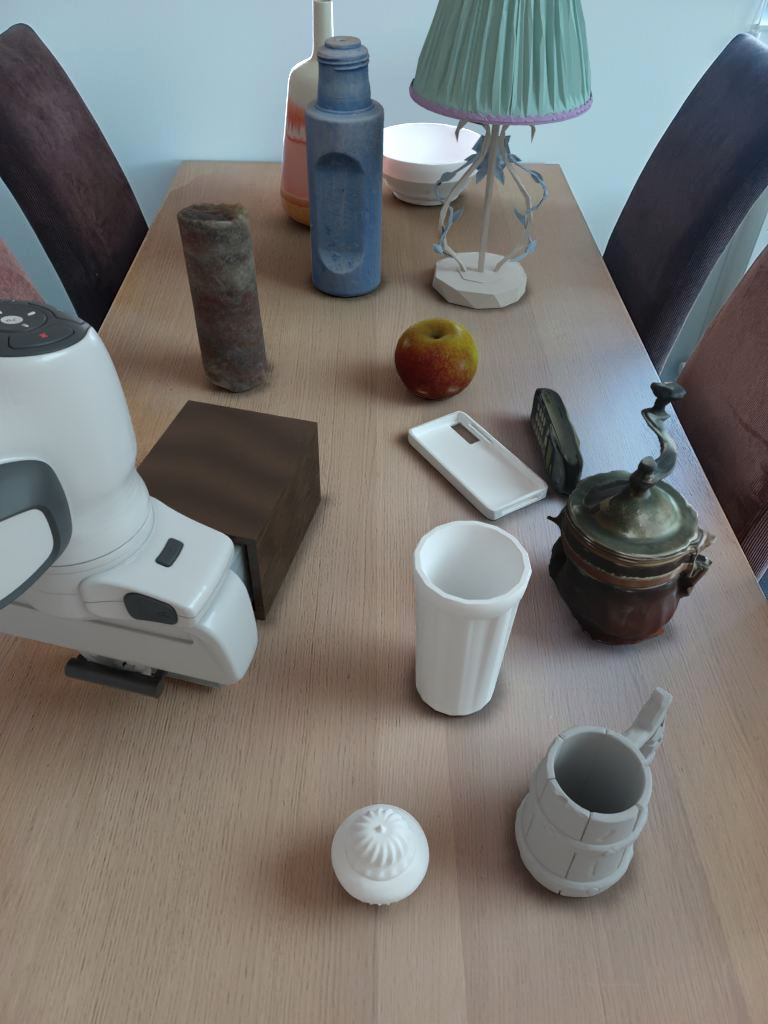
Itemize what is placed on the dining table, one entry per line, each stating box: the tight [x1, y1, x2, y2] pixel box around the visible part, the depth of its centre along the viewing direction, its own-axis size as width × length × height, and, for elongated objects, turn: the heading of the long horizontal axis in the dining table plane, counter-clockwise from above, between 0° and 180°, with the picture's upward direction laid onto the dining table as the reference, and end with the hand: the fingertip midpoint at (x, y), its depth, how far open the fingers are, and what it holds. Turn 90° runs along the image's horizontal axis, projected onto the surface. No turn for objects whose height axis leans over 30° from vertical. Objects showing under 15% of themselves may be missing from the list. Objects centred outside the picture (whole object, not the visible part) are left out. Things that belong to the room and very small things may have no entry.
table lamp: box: [408, 0, 594, 310], centre depth 98 cm, size 22×22×40 cm
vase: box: [279, 0, 334, 227], centre depth 118 cm, size 14×14×30 cm
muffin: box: [330, 803, 430, 907], centre depth 50 cm, size 6×6×7 cm
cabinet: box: [136, 399, 322, 620], centre depth 71 cm, size 16×13×10 cm
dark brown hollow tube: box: [176, 202, 269, 393], centre depth 88 cm, size 8×7×20 cm
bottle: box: [305, 35, 385, 298], centre depth 102 cm, size 10×10×30 cm
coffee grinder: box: [546, 381, 717, 645], centre depth 65 cm, size 13×15×18 cm
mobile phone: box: [529, 387, 584, 496], centre depth 83 cm, size 5×3×15 cm
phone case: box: [407, 410, 549, 521], centre depth 83 cm, size 7×1×15 cm
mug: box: [514, 686, 673, 898], centre depth 51 cm, size 8×12×12 cm, turn 133°
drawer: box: [63, 542, 254, 700], centre depth 64 cm, size 19×11×8 cm, turn 166°
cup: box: [411, 520, 533, 716], centre depth 59 cm, size 8×8×14 cm
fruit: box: [393, 318, 479, 401], centre depth 91 cm, size 10×9×8 cm
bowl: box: [383, 122, 481, 206], centre depth 133 cm, size 19×20×8 cm
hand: (129, 678), depth 59 cm, fingers closed
